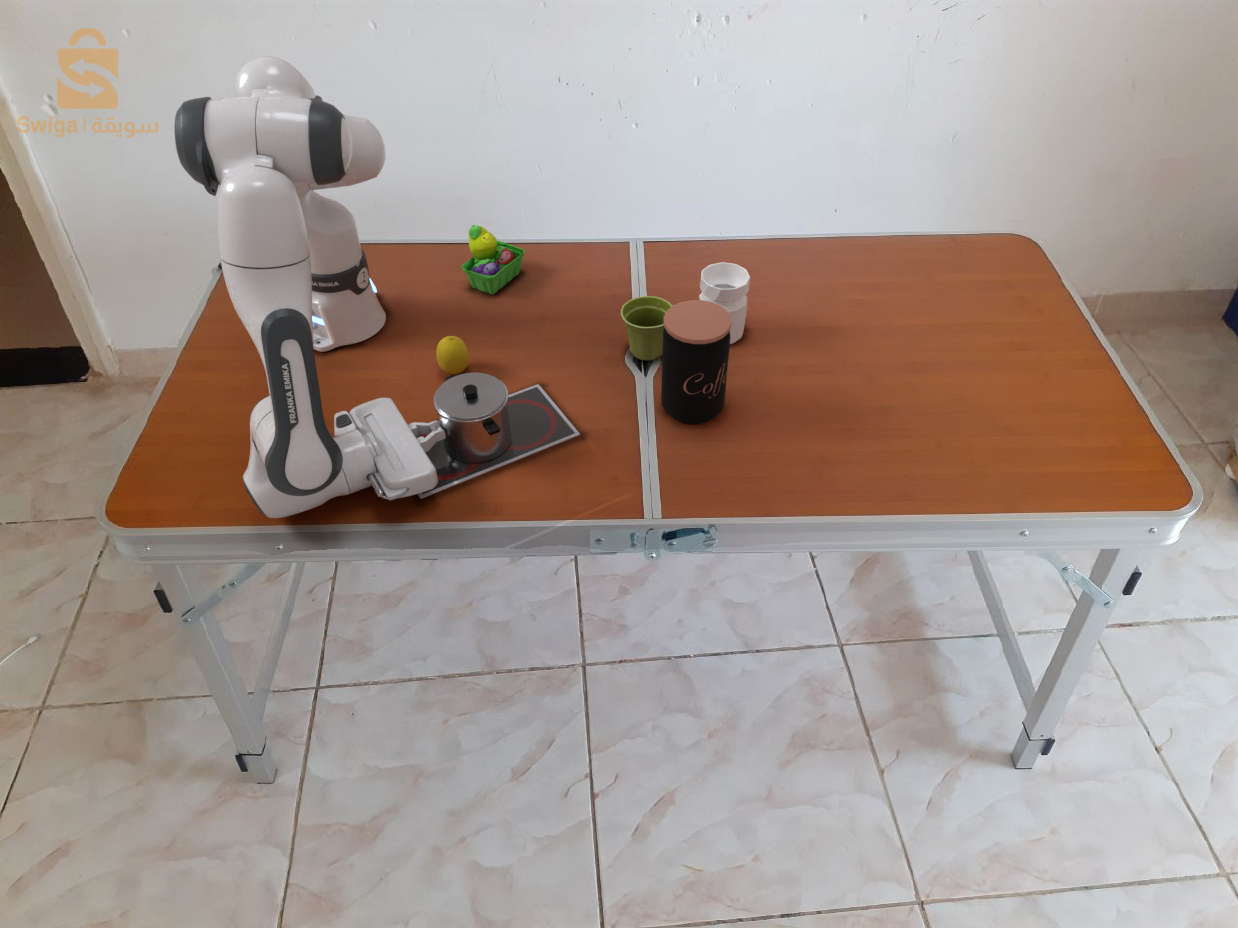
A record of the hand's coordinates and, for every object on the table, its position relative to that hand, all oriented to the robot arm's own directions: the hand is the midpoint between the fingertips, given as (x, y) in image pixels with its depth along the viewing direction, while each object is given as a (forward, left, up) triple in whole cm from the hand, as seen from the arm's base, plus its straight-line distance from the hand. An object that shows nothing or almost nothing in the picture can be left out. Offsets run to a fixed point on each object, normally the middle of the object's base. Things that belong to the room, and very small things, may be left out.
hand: (442, 428), depth 150 cm
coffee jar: (+34, +24, -6) cm, 42 cm away
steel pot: (+4, +4, -5) cm, 8 cm away
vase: (+33, +46, -6) cm, 57 cm away
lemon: (-8, +19, -6) cm, 21 cm away
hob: (+4, +5, -6) cm, 9 cm away
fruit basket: (-14, +48, -6) cm, 50 cm away
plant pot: (+22, +36, -6) cm, 43 cm away
